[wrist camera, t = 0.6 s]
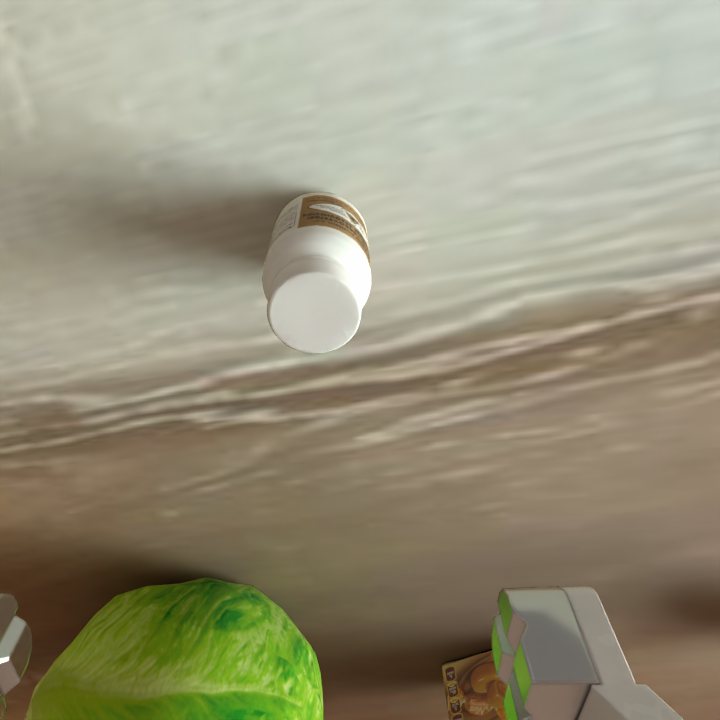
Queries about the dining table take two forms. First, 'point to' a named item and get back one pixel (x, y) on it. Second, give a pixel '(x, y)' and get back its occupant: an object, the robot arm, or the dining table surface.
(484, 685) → the candy box
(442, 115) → the dining table surface
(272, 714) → the lettuce
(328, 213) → the pill bottle
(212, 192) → the dining table surface
